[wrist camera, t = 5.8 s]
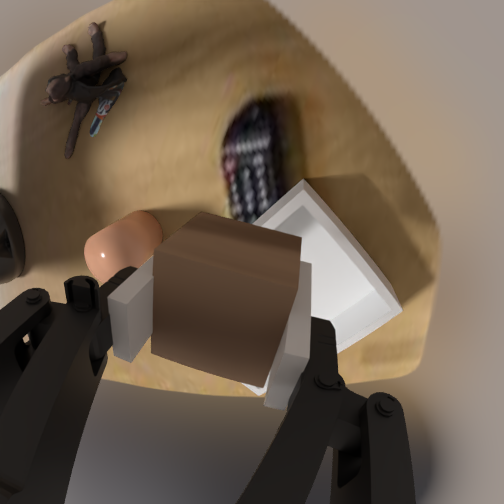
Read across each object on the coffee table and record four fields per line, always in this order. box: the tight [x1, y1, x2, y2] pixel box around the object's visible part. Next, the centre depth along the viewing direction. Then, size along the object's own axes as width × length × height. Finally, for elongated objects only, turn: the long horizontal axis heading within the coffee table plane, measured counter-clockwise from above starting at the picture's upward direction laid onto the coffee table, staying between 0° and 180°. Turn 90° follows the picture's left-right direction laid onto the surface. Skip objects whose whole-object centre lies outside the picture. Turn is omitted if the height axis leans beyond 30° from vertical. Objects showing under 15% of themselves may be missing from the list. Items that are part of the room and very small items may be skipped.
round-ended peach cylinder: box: [84, 211, 163, 283], centre depth 27 cm, size 5×5×7 cm
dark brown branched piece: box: [41, 22, 127, 158], centre depth 24 cm, size 12×10×12 cm
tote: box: [242, 179, 403, 396], centre depth 28 cm, size 14×18×5 cm
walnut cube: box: [151, 212, 302, 388], centre depth 13 cm, size 5×5×5 cm
